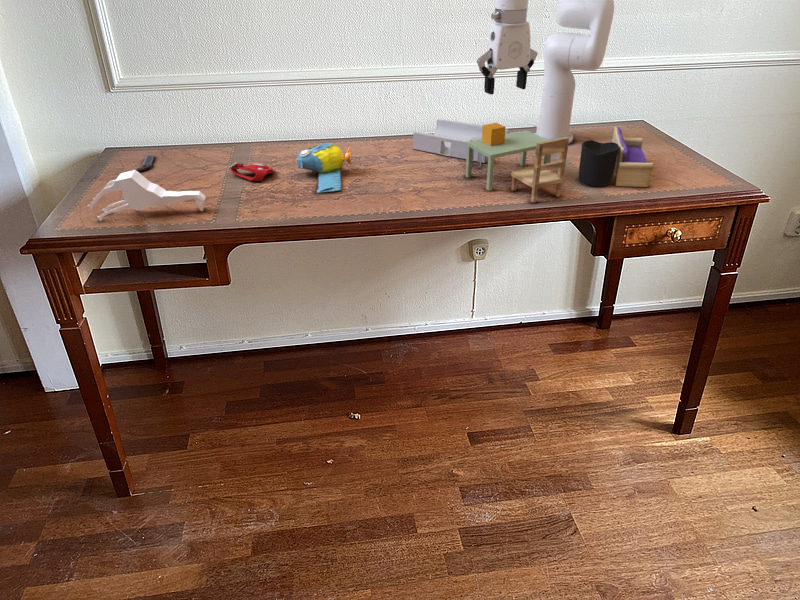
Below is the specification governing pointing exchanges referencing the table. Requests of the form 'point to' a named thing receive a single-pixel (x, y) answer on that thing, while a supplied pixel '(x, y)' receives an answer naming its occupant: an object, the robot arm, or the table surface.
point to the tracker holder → (256, 168)
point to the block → (493, 134)
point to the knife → (146, 163)
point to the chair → (544, 168)
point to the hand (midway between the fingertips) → (505, 90)
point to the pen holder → (597, 163)
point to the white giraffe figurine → (144, 194)
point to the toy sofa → (631, 161)
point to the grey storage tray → (451, 140)
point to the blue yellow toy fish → (324, 165)
